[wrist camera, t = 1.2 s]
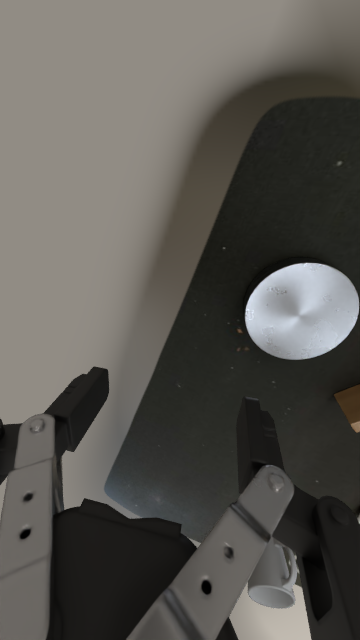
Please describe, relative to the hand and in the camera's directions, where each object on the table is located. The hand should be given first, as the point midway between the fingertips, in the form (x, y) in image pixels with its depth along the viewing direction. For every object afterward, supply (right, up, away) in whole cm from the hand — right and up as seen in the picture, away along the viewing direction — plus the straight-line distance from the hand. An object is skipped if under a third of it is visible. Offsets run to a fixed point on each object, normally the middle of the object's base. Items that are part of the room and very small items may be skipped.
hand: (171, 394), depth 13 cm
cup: (+18, -38, +34) cm, 54 cm away
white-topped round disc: (+13, +6, +15) cm, 21 cm away
